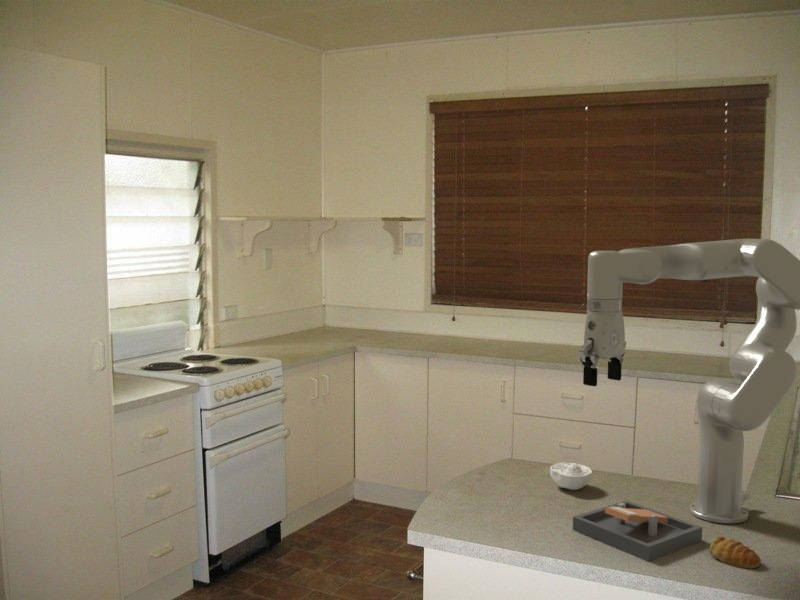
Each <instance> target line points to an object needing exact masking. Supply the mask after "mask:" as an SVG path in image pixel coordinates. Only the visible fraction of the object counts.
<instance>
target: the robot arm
mask: <svg viewBox="0 0 800 600" xmlns="http://www.w3.org/2000/svg"><path fill="white" fill-rule="evenodd" d="M587 258H588V259H587V294H586V296H587V298H586V313H587V314H586V318H585V326H584V333H583V334H584V335H583V344H582V346H581V347H580V348H579V349H578V354H579V357H580V362H581V366H582V367H583V371H582V372H583V373H582V374H583V376H582V380H583V381H582V383H583V385H585V386H590V387H597V386H598V368H597V367H596V366H597V364H598V362H599V360H600V359H601V360H608V361H607V379H608V380H613V381H618V382H619V381H622V367H623V366H622V364H623V361H624V355H625V351H626V346H627V341H626V336H625V335H626V334H625V331H626V329H625V321H624V314H623V310H622V309H623V287H624V286H623V283H628V284H629V283H632V284H637V285H648V284H651V283H653V282H655V281H656V280H658V279H672V280H673V279H674V280H675V279H676V280H683V281H684V280H685V281H705V280H714V279H725V278H727V279H728V278H735V277H736V278H737V277H753V278H754V277H755V278H757V280H756V283H755V293H756V296H757V301H758V304H759V312H758V313H759V314H758V318H757V320H756V322H755V324H754V325H753V327H752V328H751V330H750V331H749V332H748V334H747V335H746V336H745V337H744V339H743V340H742V342H740V344H739V345H738V347H736V350H735V351H734V352H733V354H732V355H731V357H730V359H729V362H728V368H729V372H730V373H731V375H732V376H733V377H735V378H736V379H737V380H739V381H740V382H742V383H741V384H739V383H736V382H733V381H731V380H728V379H725V378H724V379H721V378H715V379H711V380H709V381H707V382H705V383H704V384H702V385H701V387H700V389H699V390H698V393H697V397H696V407H697V408H696V409H697V415H698V422H699V424H698V425H699V442H698V443H699V445H698V446H699V447H698V467H697V468H698V472H697V497H696V499H697V500H696V501H693V502H692V503H691V504H690V505H689V512H690V513H691V514H692V515H693V516H695V517H697V518H698V519H702V520H704V521H708V522H712V523H718V524H729V525H730V524H740V523H743V522H746V521H747V520H748V519H749V512H748V511H747V509H745V507H742V506H743V503H744V502H746V501H748V500H750V498H751V495H750V493H749V492H747V491H744V492H743V473H744V471H743V469H744V452H745V449H744V448H745V438H744V432H751V431H754V430H757V429H758V428H759V427H761V426H762V425H763V424H764V423H766V421H767V420H768V418H769V417H771V414H773V412H774V411H775V410H776V408H777V406H778V405H779V404H780V402H781V401H782V400H783V399H784V397H785V396H786V395H787V394H788V393H789V390H790V389H791V388H792V386H793V384H794V382H795V380H796V376H797V364H796V361H795V359H794V357H793V356H792V355H791V354H790V353H789V352H788V351H786V350H787V349H788V347H789V346H790V344H791V343H792V341H793V340H794V338H795V335H796V332H797V325H798V323H797V315H796V314H797V312H796V310H798V311H800V259H799V258H798V257H796V255H794V254H793V253H792V252H791V251H789V249H787V248H786V247H785V246H784V245H782V244H780V243H778V242H777V241H775V240H773V239H769V238H735V239H725V240H713V241H700V242H699V241H697V242H686V243H678V244H671V245H658V246H657V245H655V246H644V247H631V248H624V249H623V248H622V249H621V250H619V251H618V250H593V251H591V252H589V255H588V257H587Z"/></svg>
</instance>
